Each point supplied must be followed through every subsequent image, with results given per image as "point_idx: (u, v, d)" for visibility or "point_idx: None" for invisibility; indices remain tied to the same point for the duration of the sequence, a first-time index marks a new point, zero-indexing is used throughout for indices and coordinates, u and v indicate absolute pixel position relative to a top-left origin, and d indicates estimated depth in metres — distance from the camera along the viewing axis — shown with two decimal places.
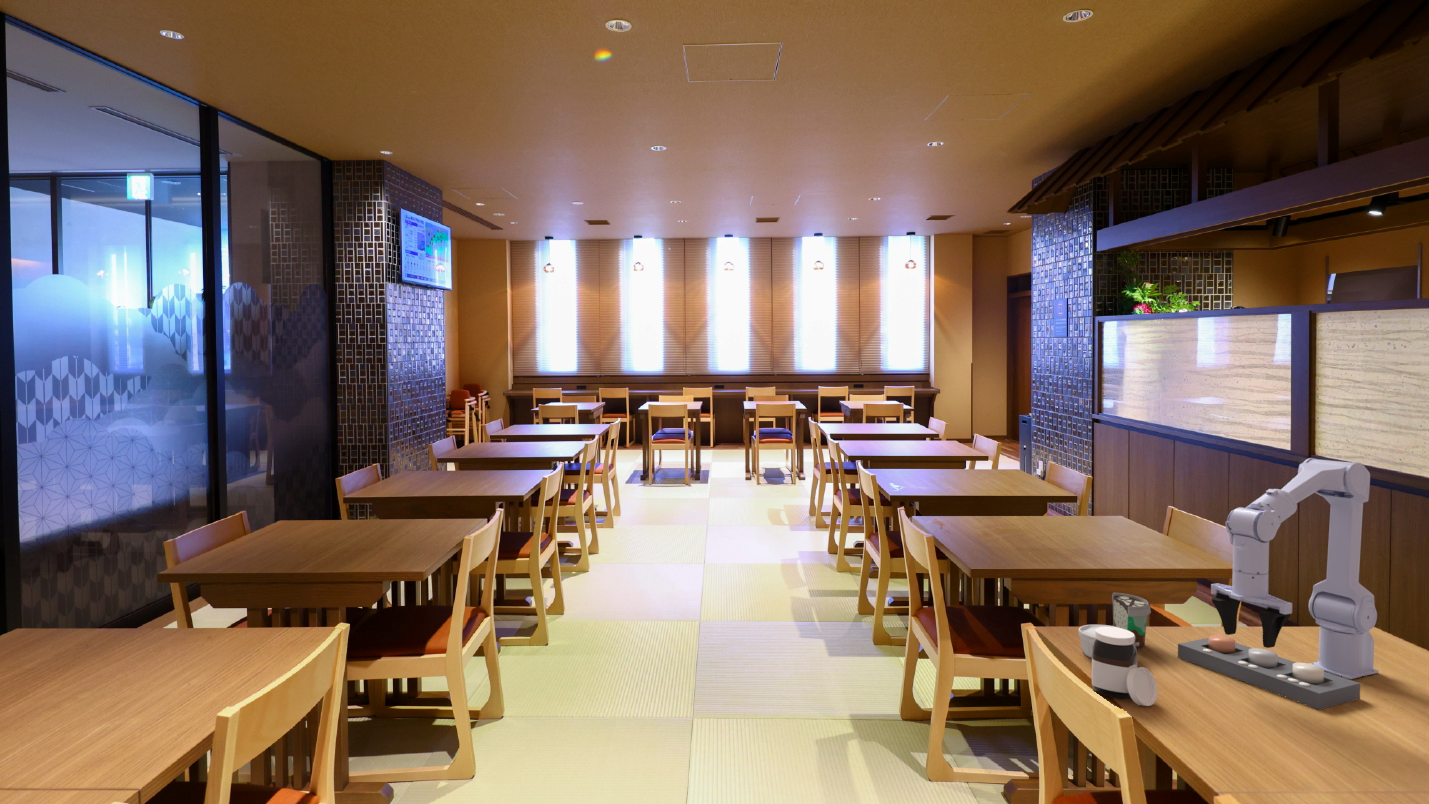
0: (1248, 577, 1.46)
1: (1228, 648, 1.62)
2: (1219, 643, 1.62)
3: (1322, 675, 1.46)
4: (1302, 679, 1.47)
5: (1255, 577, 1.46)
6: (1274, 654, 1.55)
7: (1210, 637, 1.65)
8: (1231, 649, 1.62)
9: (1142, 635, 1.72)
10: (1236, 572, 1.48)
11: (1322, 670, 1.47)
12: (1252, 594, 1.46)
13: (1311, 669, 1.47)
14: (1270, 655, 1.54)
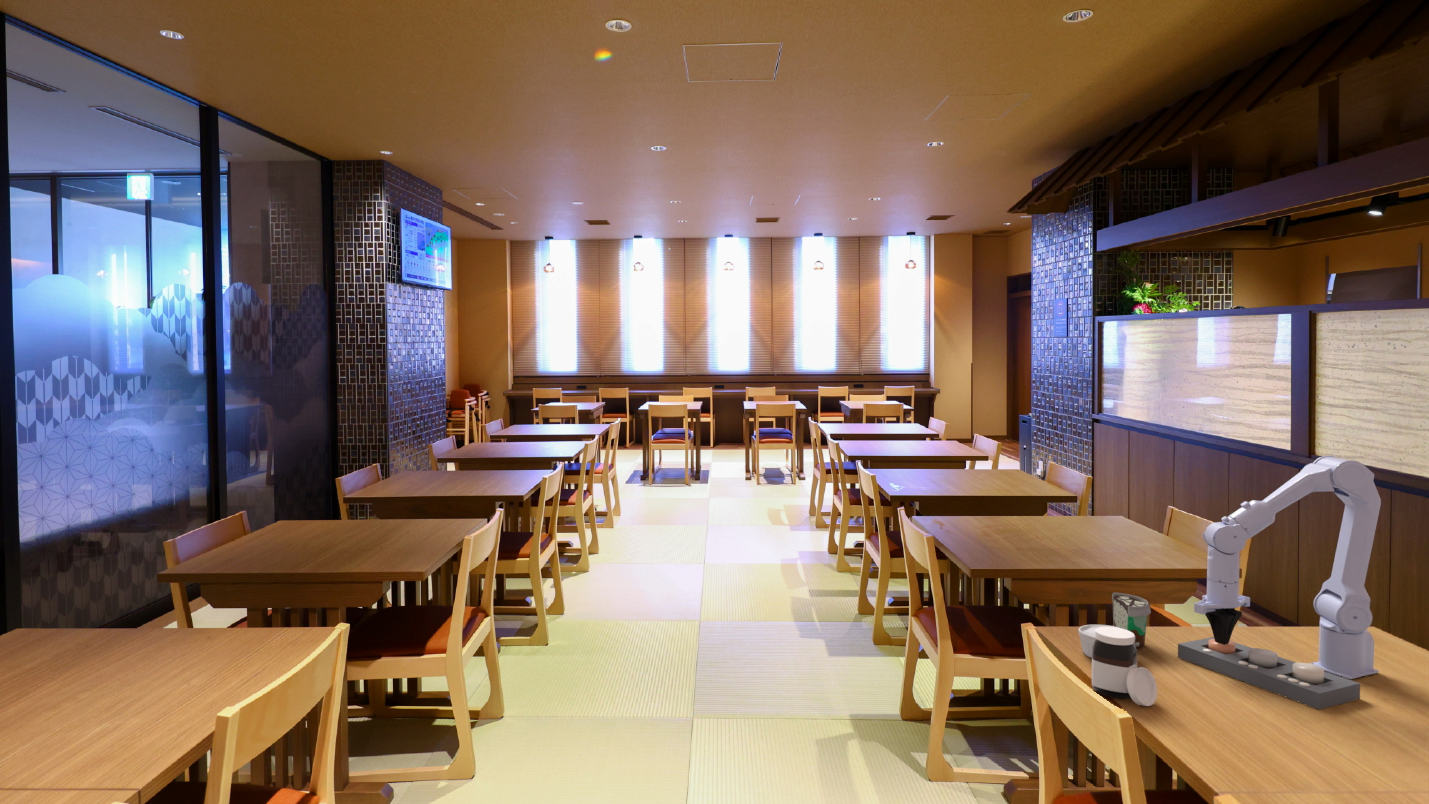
0: None
1: (1228, 652, 1.62)
2: (1219, 646, 1.62)
3: (1322, 675, 1.46)
4: (1302, 679, 1.47)
5: (1207, 581, 1.64)
6: (1274, 654, 1.55)
7: (1210, 641, 1.65)
8: None
9: (1142, 635, 1.72)
10: None
11: (1322, 670, 1.47)
12: (1206, 596, 1.65)
13: (1311, 669, 1.47)
14: (1270, 655, 1.54)
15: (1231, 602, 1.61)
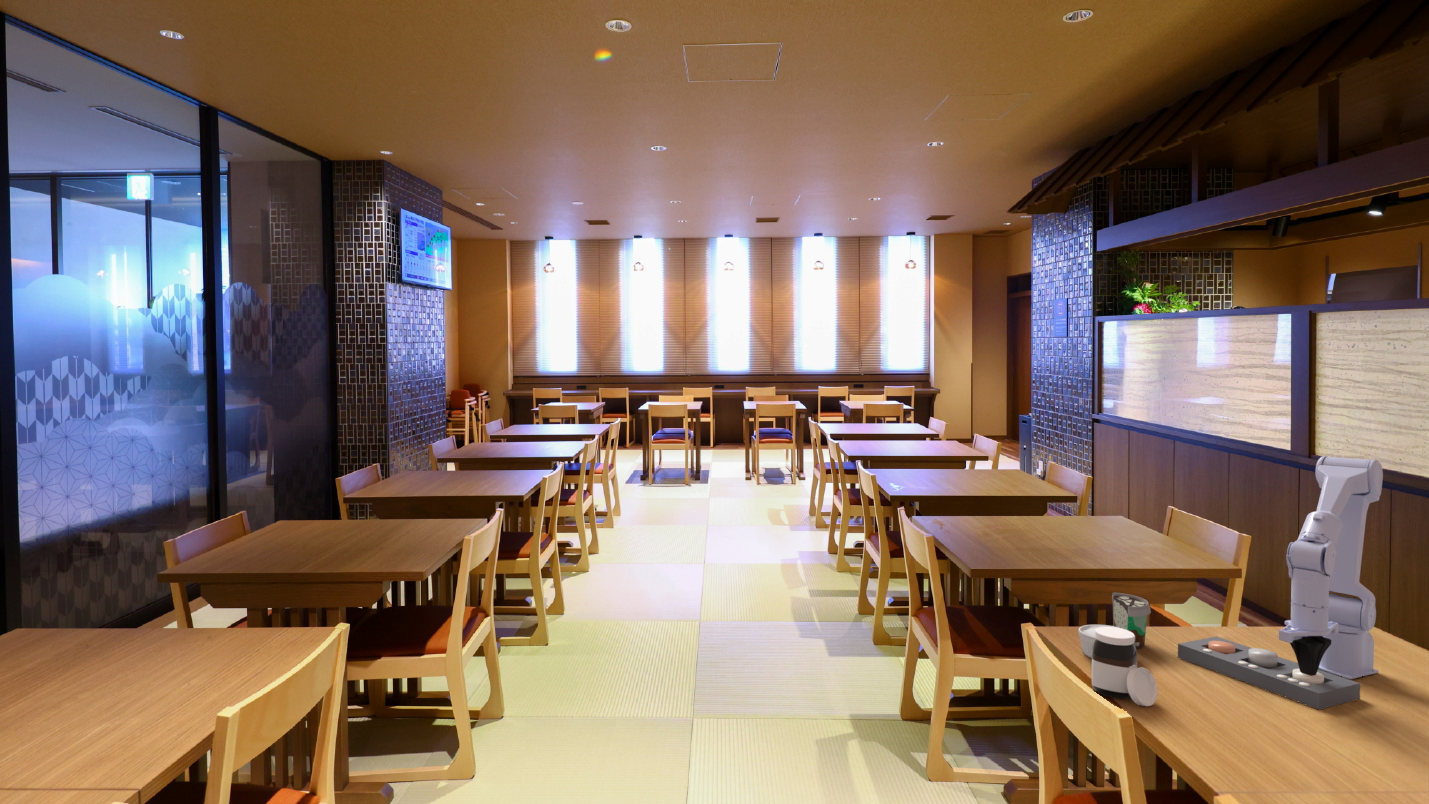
0: None
1: None
2: (1219, 648, 1.62)
3: (1322, 681, 1.46)
4: None
5: (1292, 605, 1.48)
6: (1274, 654, 1.55)
7: (1210, 643, 1.65)
8: None
9: (1142, 635, 1.72)
10: None
11: (1322, 676, 1.47)
12: (1291, 621, 1.49)
13: None
14: (1270, 655, 1.54)
15: (1320, 629, 1.45)
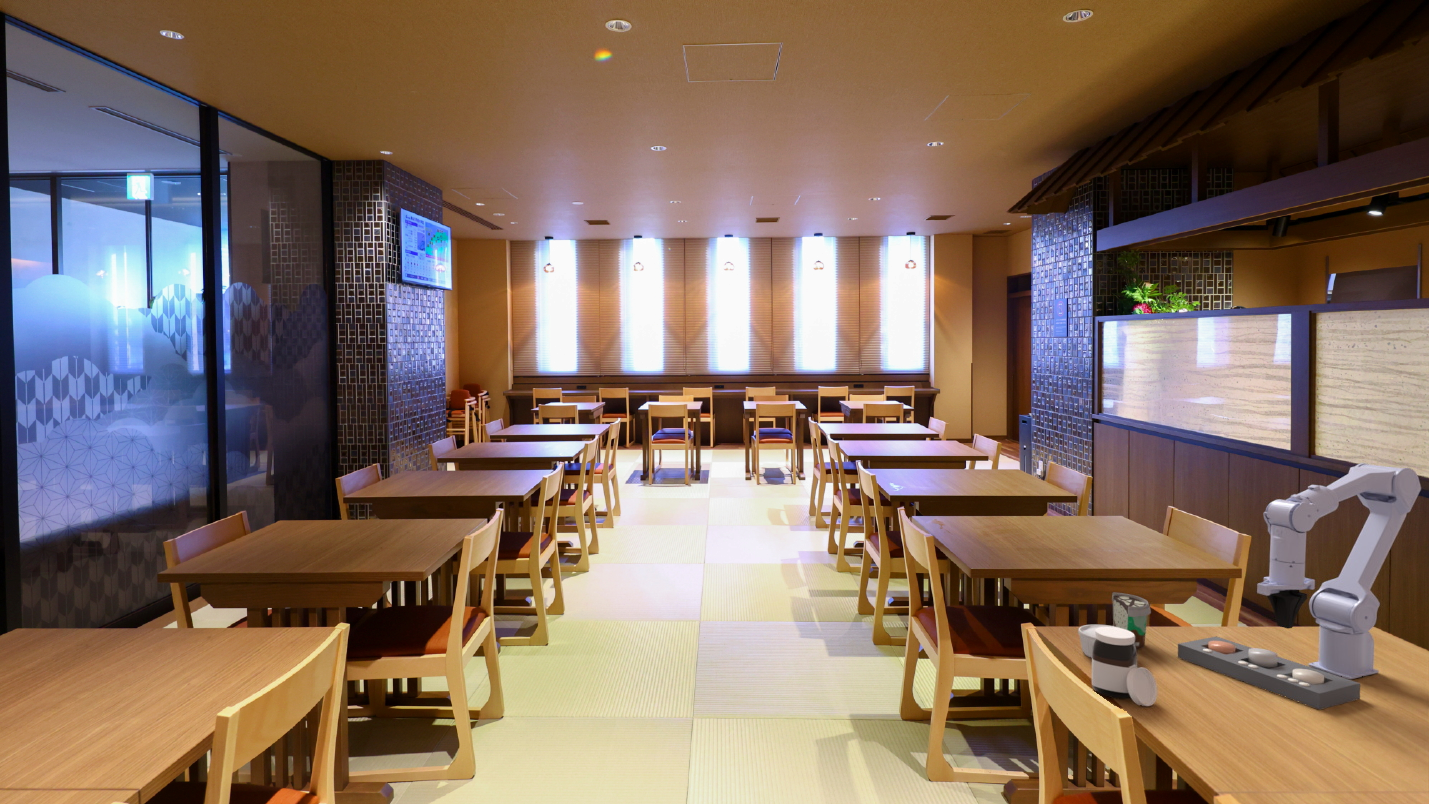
0: None
1: None
2: (1219, 648, 1.62)
3: (1322, 681, 1.46)
4: None
5: (1270, 561, 1.56)
6: (1274, 654, 1.55)
7: (1210, 643, 1.65)
8: None
9: (1142, 635, 1.72)
10: None
11: (1322, 676, 1.47)
12: (1269, 577, 1.56)
13: (1311, 675, 1.47)
14: (1270, 655, 1.54)
15: (1297, 583, 1.52)
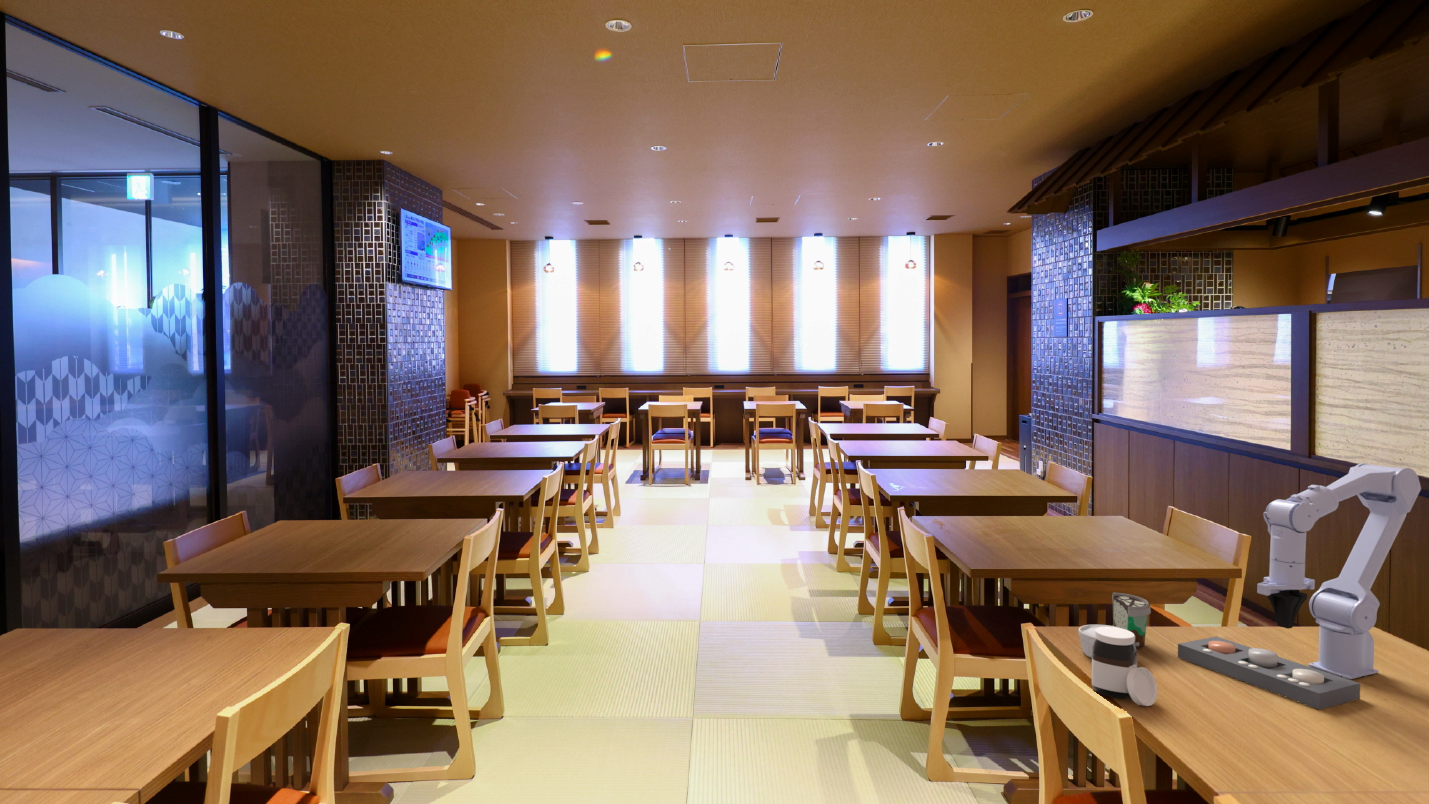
0: None
1: None
2: (1219, 648, 1.62)
3: (1322, 681, 1.46)
4: None
5: (1270, 561, 1.56)
6: (1274, 654, 1.55)
7: (1210, 643, 1.65)
8: None
9: (1142, 635, 1.72)
10: None
11: (1322, 676, 1.47)
12: (1269, 577, 1.56)
13: (1311, 675, 1.47)
14: (1270, 655, 1.54)
15: (1297, 583, 1.52)
